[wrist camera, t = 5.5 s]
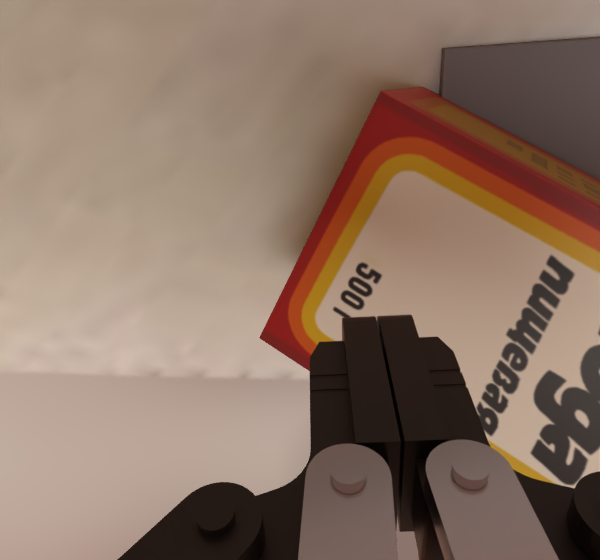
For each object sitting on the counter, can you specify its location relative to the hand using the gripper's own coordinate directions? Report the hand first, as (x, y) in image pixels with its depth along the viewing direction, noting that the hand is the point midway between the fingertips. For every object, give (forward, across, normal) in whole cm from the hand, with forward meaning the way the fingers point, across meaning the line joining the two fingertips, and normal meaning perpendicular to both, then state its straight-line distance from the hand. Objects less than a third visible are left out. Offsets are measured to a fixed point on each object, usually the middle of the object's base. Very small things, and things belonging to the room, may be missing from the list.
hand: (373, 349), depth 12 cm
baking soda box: (+9, 0, 0) cm, 9 cm away
